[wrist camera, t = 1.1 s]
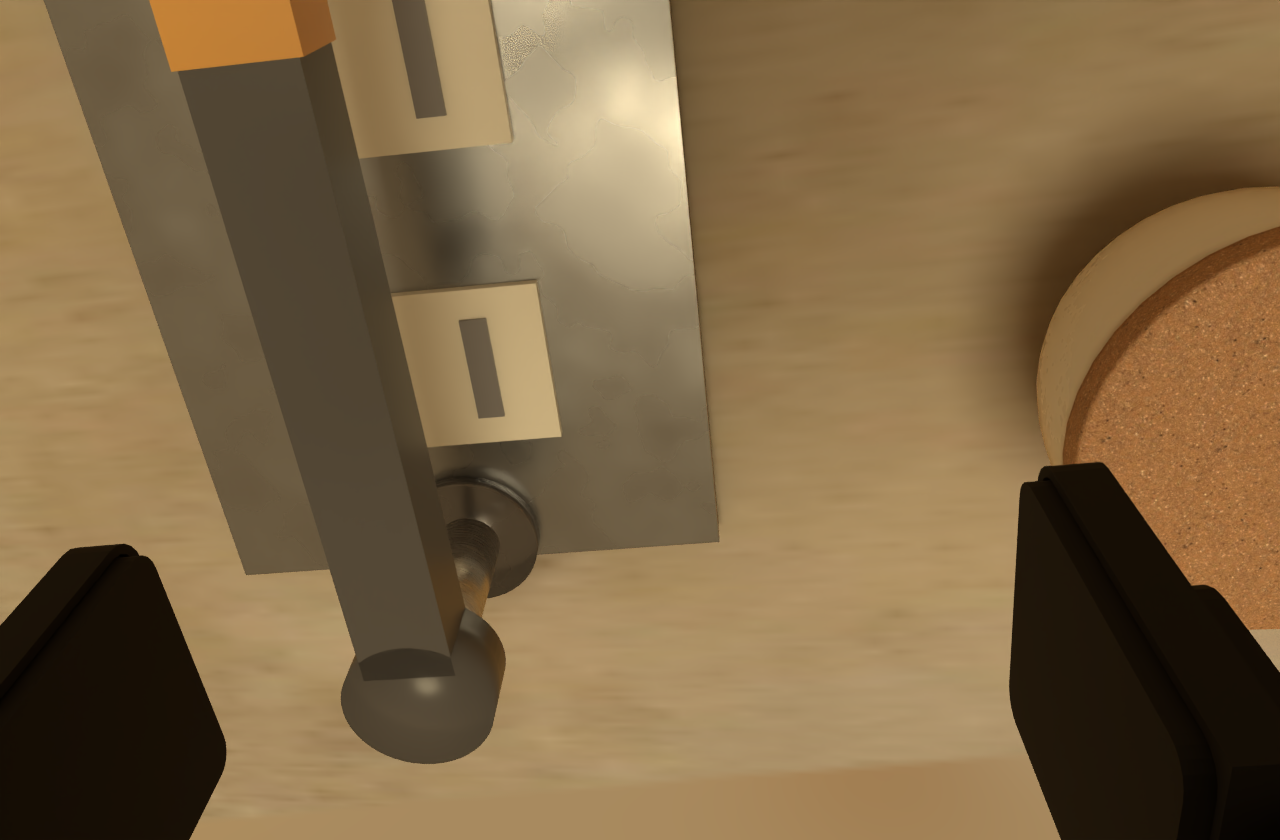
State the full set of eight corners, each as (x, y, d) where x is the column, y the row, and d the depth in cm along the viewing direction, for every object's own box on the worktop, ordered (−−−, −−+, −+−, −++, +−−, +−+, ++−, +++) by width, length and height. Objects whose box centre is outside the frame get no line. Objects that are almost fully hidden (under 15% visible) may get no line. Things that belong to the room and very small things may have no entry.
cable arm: (517, 705, 30) (505, 761, 28) (380, 713, 30) (360, 768, 29) (345, -72, 21) (312, -64, 19) (151, -48, 21) (99, -38, 19)
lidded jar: (963, 469, 34) (1052, 668, 26) (1029, 132, 29) (1167, 244, 21) (1301, 482, 34) (1502, 687, 25) (1428, 144, 29) (1730, 263, 20)
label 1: (208, -30, 27) (202, -28, 26) (479, -63, 26) (477, -62, 26) (263, 166, 29) (258, 170, 29) (514, 140, 28) (511, 143, 28)
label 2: (301, 301, 31) (296, 306, 31) (537, 279, 30) (535, 284, 30) (342, 449, 33) (339, 456, 33) (562, 431, 33) (561, 438, 32)
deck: (39, -76, 27) (-136, -57, 21) (655, -155, 26) (646, -157, 20) (266, 585, 37) (188, 721, 31) (721, 554, 36) (727, 689, 30)
